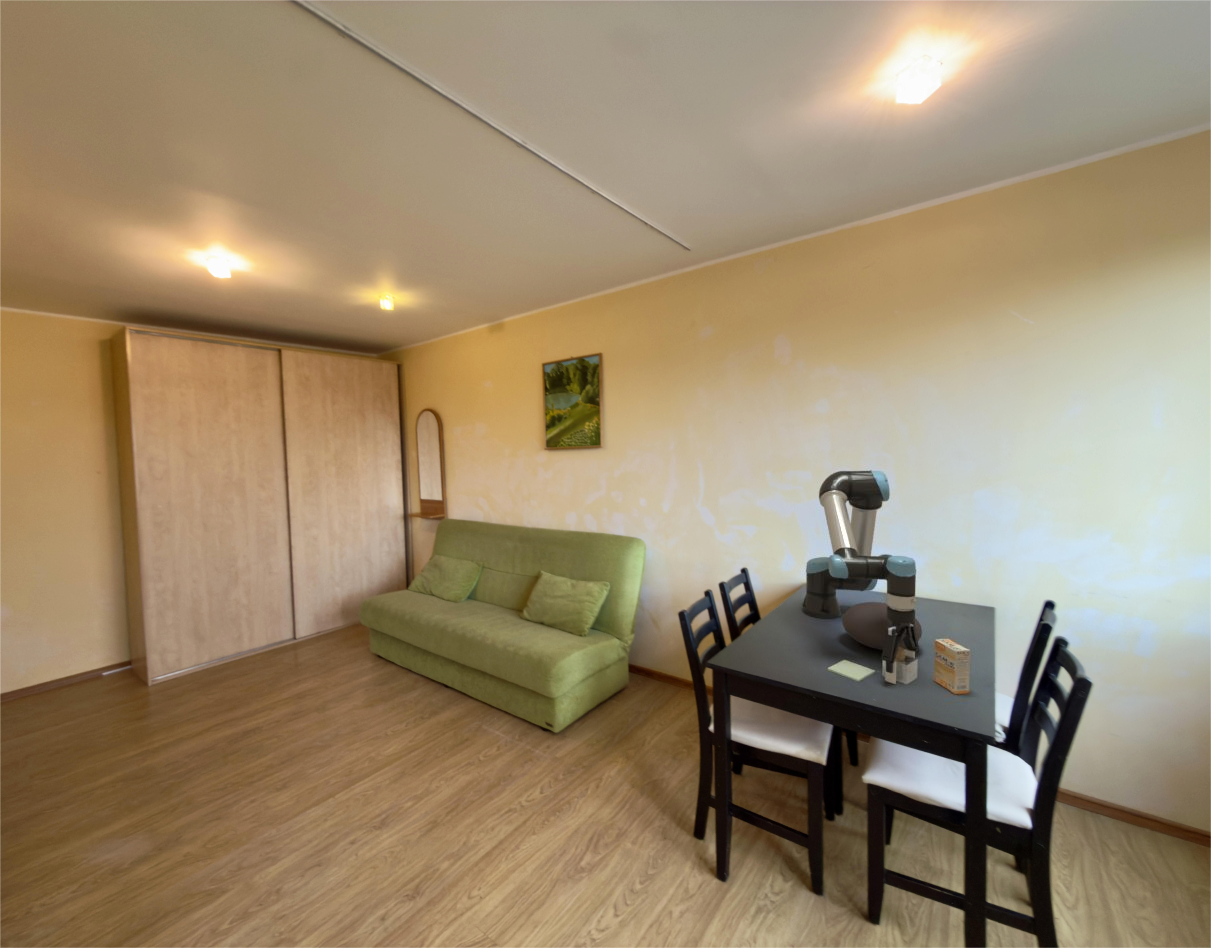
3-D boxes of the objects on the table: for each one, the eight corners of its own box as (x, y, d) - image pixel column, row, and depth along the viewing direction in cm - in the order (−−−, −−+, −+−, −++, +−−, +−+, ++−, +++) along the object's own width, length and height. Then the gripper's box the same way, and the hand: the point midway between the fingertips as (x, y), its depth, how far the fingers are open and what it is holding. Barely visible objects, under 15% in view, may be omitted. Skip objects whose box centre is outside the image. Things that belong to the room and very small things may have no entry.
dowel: (893, 676, 152) (894, 648, 151) (897, 674, 153) (897, 646, 153) (902, 679, 150) (902, 650, 149) (905, 677, 151) (906, 648, 151)
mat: (827, 669, 157) (827, 668, 157) (844, 661, 163) (844, 659, 163) (858, 681, 149) (858, 679, 149) (875, 672, 155) (875, 670, 155)
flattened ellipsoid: (873, 664, 160) (874, 619, 159) (827, 635, 185) (827, 596, 184) (939, 657, 164) (940, 613, 163) (886, 629, 189) (886, 591, 188)
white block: (882, 675, 152) (882, 657, 152) (893, 669, 156) (893, 651, 156) (906, 684, 147) (906, 665, 146) (917, 677, 151) (917, 658, 150)
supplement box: (932, 681, 148) (933, 638, 148) (947, 680, 149) (948, 638, 148) (954, 694, 140) (955, 650, 139) (970, 693, 141) (971, 649, 140)
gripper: (895, 619, 140) (894, 692, 141) (931, 602, 154) (930, 669, 155) (868, 612, 146) (868, 682, 148) (905, 596, 160) (905, 661, 161)
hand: (900, 676), depth 151 cm, fingers open, 11 cm apart
